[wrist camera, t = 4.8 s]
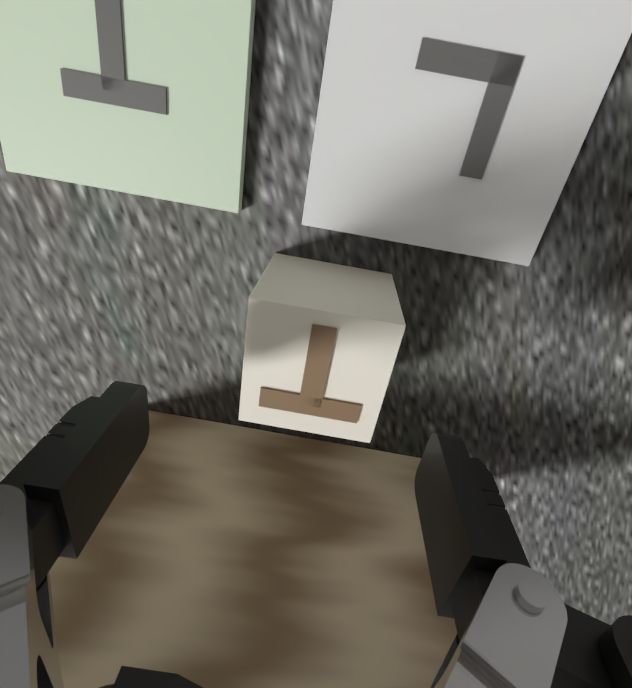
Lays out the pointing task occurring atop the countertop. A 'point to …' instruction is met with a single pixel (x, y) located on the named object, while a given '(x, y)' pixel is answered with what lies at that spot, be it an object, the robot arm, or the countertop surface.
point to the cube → (319, 347)
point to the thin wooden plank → (254, 567)
